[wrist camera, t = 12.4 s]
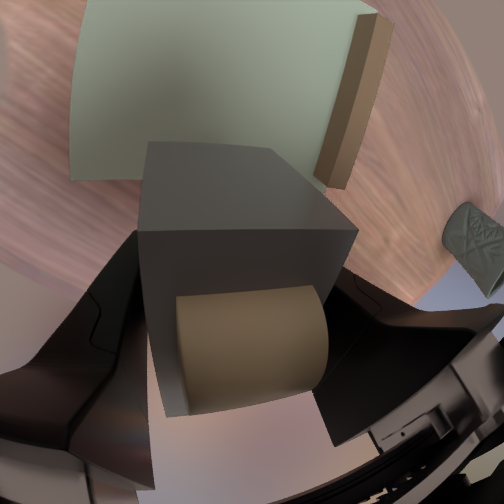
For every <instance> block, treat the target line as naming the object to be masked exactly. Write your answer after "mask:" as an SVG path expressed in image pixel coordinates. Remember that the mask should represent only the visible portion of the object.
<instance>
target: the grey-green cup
mask: <svg viewBox="0 0 504 504" xmlns="http://www.w3.org/2000/svg"><path fill="white" fill-rule="evenodd" d="M442 242H443V244H444V246H445V247H446V248H447V249H448V250H449V252H450V253H451V254H453V255H454V257H455V258H456V260H458V262H459V263H460V264H461V265H462V267H463V268H464V269H465V270H466V271H467V273H469V275H470V276H471V277H472V278H473V279H474V281H475V282H476V284H477V285H478V287H479V288H480V290H481V291H482V292H483V294H484V295H485V297H486V298H487V299H489V298H491V297H492V296H493V295H494V294H495V293H496V292H497V291H498V290H499V289H500V288H501V287H502V285H503V284H504V227H503V226H501V225H500V224H498V223H497V222H496V221H494V220H493V219H492V218H490V217H489V216H487V215H486V214H485V213H483V212H482V211H481V210H479V209H478V208H477V207H476V206H474V205H473V204H471V203H467V202H466V203H463V204H462V205H460V206H459V207H458V208H457V209H456V210H455V212H454V213H453V214H452V216H451V217H450V219H449V221H448V222H447V225H446V227H445V229H444V232H443V237H442Z"/></svg>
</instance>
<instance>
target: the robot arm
mask: <svg viewBox="0 0 504 504" xmlns="http://www.w3.org/2000/svg"><path fill="white" fill-rule="evenodd" d="M323 310H324V314H325V318H326V323H327V329H328V360H327V365H326V369H325V372H324V375H323V377H322V379H321V381H320V382H319V384H318V385H317V386H316V387H315V388H314V389H312V393H314V394H313V396H314V398H315V401H316V403H317V406H318V408H319V410H320V413H321V416H322V418H323V421H324V423H325V426H326V428H327V431H328V433H329V435H330V438H331V441H332V443H333V445H334V447H337V446H339V445H342V444H344V443H346V442H348V441H350V440H352V439H354V438H357V437H358V436H361V435H362V434H364V433H367V432H368V434H369V436H370V437H371V439H372V441H373V443H374V445H375V447H376V449H377V450H378V452H379V454H380V455H379V456H377V457H375V458H374V459H372V460H370V461H368V462H367V463H365V464H363V465H361V466H359V467H357V468H355V469H353V470H351V471H349V472H348V473H346V474H343V475H341V476H339V477H337V478H335V479H333V480H331V481H328V482H326V483H324V484H321V485H319V486H317V487H314V488H312V489H309V490H307V491H304V492H301V493H299V494H296V495H293V496H290V497H288V498H284V499H282V500H278V501H275V502H272V503H268V504H359V503H362V502H366V501H368V500H370V497H371V496H374V495H376V494H379V493H381V492H383V489H384V488H386V490H387V492H388V493H387V494H384V495H381V496H379V497H378V498H376V500H377V502H375V503H372V504H504V460H502V461H501V462H500V463H499V464H498V466H497V468H496V469H495V470H494V472H493V473H492V474H491V476H489V477H487V478H484V479H482V480H480V481H478V482H475V483H473V484H470V482H469V479H468V478H467V476H466V474H459V473H460V472H461V471H462V470H463V469H464V468H465V466H466V465H467V464H468V463H469V462H470V461H471V460H473V459H475V458H477V457H479V456H481V455H483V454H484V453H486V452H488V451H490V450H492V449H493V448H495V447H497V446H498V445H500V444H502V443H503V442H504V337H503V338H502V339H501V341H500V342H498V340H497V339H496V338H495V336H494V335H493V334H492V332H491V331H492V330H493V328H494V327H495V326H496V325H497V324H498V323H499V321H500V320H501V319H502V317H503V316H504V304H497V303H496V304H489V305H487V306H485V307H481V308H473V309H462V310H449V311H433V312H429V311H423V310H419V309H416V308H414V307H412V306H410V305H409V304H407V303H405V302H403V301H401V300H400V299H398V298H396V297H394V296H392V295H391V294H389V293H387V292H385V291H383V290H382V289H380V288H378V287H376V286H374V285H373V284H371V283H369V282H368V281H366V280H364V279H363V278H361V277H359V276H358V275H356V274H353V272H351V271H350V270H348V269H346V268H345V267H342V269H341V271H340V273H339V275H338V277H337V279H336V281H335V283H334V285H333V287H332V289H331V291H330V293H329V295H328V297H327V299H326V301H325V303H324V305H323ZM147 336H148V329H147V322H146V315H145V308H144V301H143V292H142V284H141V274H140V263H139V250H138V235H137V230H134V231H133V232H132V233H131V234H130V236H129V237H128V238H127V239H126V240H125V242H124V243H123V244H122V245H121V246H120V248H119V249H118V250H117V251H116V253H115V254H114V255H113V256H112V258H111V259H110V260H109V261H108V263H107V264H106V265H105V267H104V268H103V269H102V270H101V272H100V273H99V274H98V276H97V277H96V278H95V280H94V281H93V282H92V284H91V285H90V286H89V288H88V289H87V292H85V293H84V295H83V296H82V297H81V299H80V300H79V302H78V303H77V304H76V306H75V307H74V308H73V310H72V311H71V312H70V313H69V315H68V316H67V317H66V318H65V320H64V321H63V322H62V323H61V325H60V326H59V327H58V328H57V329H56V331H55V332H54V333H53V334H52V335H51V337H50V338H49V339H48V340H47V342H46V343H45V344H44V345H43V346H42V348H41V349H40V350H39V352H38V353H37V354H36V355H35V356H34V357H33V359H32V360H30V361H29V362H28V363H27V364H26V365H24V366H22V367H21V368H18V369H16V370H13V371H10V372H7V373H4V374H1V375H0V504H139V501H138V497H137V493H136V490H155V484H154V477H153V468H152V459H151V449H150V437H149V425H148V406H147V405H148V403H147Z"/></svg>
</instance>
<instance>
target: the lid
mask: <svg viewBox="0 0 504 504" xmlns="http://www.w3.org/2000/svg"><path fill="white" fill-rule="evenodd" d="M377 12H378V11H377V10H375V9H374V8H372V7H370V6H369V5H367V4H365V3H363V2H362V1H360V0H88V2H87V5H86V9H85V13H84V17H83V21H82V25H81V30H80V34H79V39H78V45H77V50H76V56H75V63H74V70H73V79H72V88H71V101H70V119H69V161H70V180H71V181H90V180H143V172H144V165H145V159H146V152H147V146H148V142H151V141H159V142H199V143H217V144H231V145H243V146H253V147H263V148H271V149H272V150H273V151H274V152H275V153H277V154H278V155H279V156H280V157H281V158H283V159H284V160H285V161H286V162H287V163H288V164H290V165H291V166H292V167H293V168H294V169H295V170H296V171H298V172H299V173H300V174H301V175H302V176H303V177H304V178H305V179H307V180H308V181H309V182H310V183H311V184H312V185H313V186H314V187H315V188H316V189H318V190H319V191H320V192H322V193H325V191H326V188H327V187H330V188H336V189H343V190H345V188H346V185H347V182H348V179H349V177H350V174H351V171H352V168H353V165H354V163H355V160H356V157H357V154H358V151H359V148H360V145H361V142H362V139H363V136H364V133H365V130H366V127H367V124H368V120H369V117H370V114H371V111H372V107H373V104H374V101H375V97H376V94H377V91H378V87H379V83H380V80H381V76H382V73H383V69H384V65H385V61H386V57H387V53H388V49H389V45H390V41H391V37H392V33H393V28H394V23H392V22H391V21H389V20H388V19H386V18H385V17H383V16H381V15H380V14H378V13H377Z"/></svg>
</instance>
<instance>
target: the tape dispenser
mask: <svg viewBox="0 0 504 504" xmlns="http://www.w3.org/2000/svg"><path fill="white" fill-rule="evenodd" d="M358 231H359V229H358V228H357V227H356V226H355V225H354V224H353V223H352V222H351V221H350V220H349V219H348V218H347V217H346V216H345V215H344V214H343V213H342V212H341V211H340V210H339V209H338V208H337V207H336V206H335V205H334V204H332V203H331V202H330V201H329V200H328V199H327V198H326V197H325V196H324V195H323V194H322V193H321V192H320V191H319V190H318V189H316V188H315V187H314V186H313V185H312V184H311V183H310V182H309V181H308V180H307V179H305V178H304V177H303V176H302V175H301V174H300V173H299V172H298V171H296V170H295V169H294V168H293V167H292V166H291V165H290V164H288V163H287V162H286V161H285V160H284V159H283V158H281V157H280V156H279V155H278V154H277V153H275V152H274V151H273V150H272V149H271V148H263V147H253V146H243V145H231V144H217V143H199V142H159V141H151V142H148V146H147V152H146V159H145V165H144V172H143V180H142V188H141V196H140V206H139V216H138V229H137V235H138V250H139V263H140V274H141V284H142V292H143V301H144V308H145V315H146V322H147V329H148V334H149V341H150V346H151V352H152V357H153V362H154V367H155V372H156V377H157V381H158V386H159V390H160V394H161V398H162V403H163V406H164V410H165V414H166V417H177V416H187V415H198V414H206V413H213V412H218V411H225V410H230V409H236V408H241V407H247V406H251V405H256V404H261V403H265V402H269V401H274V400H278V399H281V398H286V397H289V396H293V395H297V394H300V393H303V392H307V391H310V390H312V389H314V388H315V387H316V386H317V385H318V384H319V382H320V381H321V379H322V377H323V375H324V372H325V369H326V365H327V360H328V329H327V323H326V318H325V314H324V310H323V305H324V303H325V301H326V299H327V297H328V295H329V293H330V291H331V289H332V287H333V285H334V283H335V281H336V279H337V277H338V275H339V273H340V271H341V269H342V267H343V264H344V262H345V260H346V258H347V256H348V254H349V251H350V249H351V247H352V245H353V243H354V240H355V238H356V236H357V233H358Z"/></svg>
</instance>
